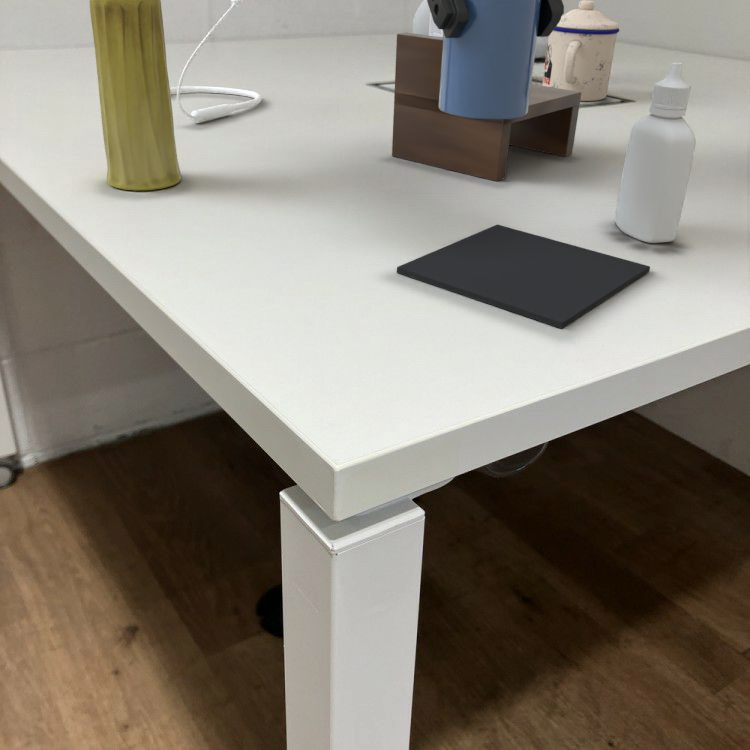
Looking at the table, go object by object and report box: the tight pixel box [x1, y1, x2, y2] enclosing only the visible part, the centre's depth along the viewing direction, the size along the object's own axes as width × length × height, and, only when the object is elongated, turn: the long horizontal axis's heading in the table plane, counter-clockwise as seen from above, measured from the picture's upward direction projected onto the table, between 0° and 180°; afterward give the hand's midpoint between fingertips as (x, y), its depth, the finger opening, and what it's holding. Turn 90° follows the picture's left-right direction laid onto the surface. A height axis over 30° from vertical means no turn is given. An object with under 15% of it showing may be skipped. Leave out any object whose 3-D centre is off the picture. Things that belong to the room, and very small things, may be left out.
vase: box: [89, 0, 182, 192], centre depth 65 cm, size 6×6×14 cm
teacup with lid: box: [541, 0, 620, 102], centre depth 106 cm, size 12×9×12 cm
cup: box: [439, 0, 542, 119], centre depth 53 cm, size 6×6×9 cm
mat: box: [396, 223, 651, 329], centre depth 54 cm, size 12×12×1 cm
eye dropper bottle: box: [614, 62, 697, 244], centre depth 59 cm, size 4×6×12 cm
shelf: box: [391, 32, 581, 182], centre depth 78 cm, size 14×12×11 cm
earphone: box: [169, 0, 263, 124], centre depth 94 cm, size 14×17×18 cm
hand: (505, 28), depth 51 cm, fingers closed on cup, 6 cm apart
